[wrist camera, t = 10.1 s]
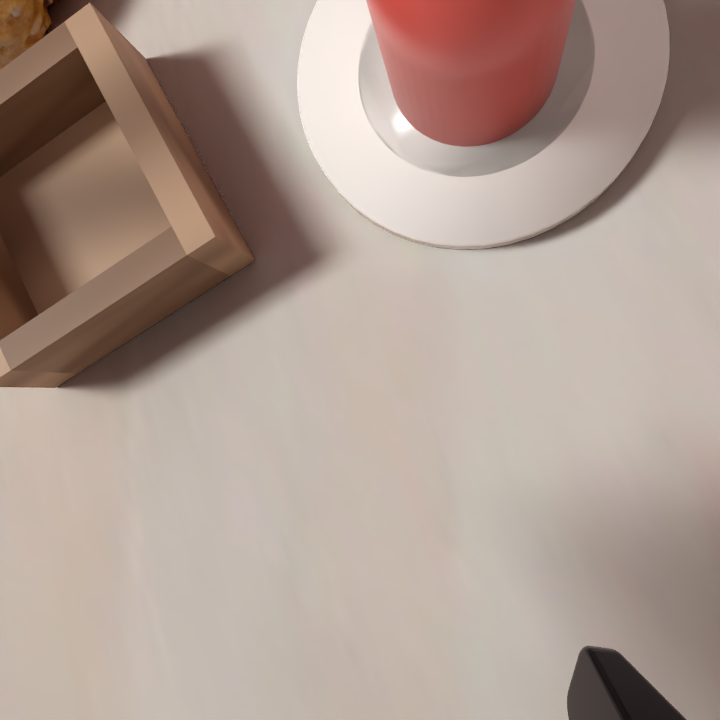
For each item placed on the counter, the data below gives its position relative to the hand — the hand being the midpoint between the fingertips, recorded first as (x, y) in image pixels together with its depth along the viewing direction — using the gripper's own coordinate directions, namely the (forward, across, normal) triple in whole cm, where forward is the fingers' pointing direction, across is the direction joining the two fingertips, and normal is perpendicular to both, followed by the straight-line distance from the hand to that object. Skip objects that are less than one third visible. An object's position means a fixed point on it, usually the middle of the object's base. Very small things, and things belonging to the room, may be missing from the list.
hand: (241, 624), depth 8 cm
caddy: (+14, +9, -3) cm, 17 cm away
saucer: (+14, -3, -9) cm, 17 cm away
